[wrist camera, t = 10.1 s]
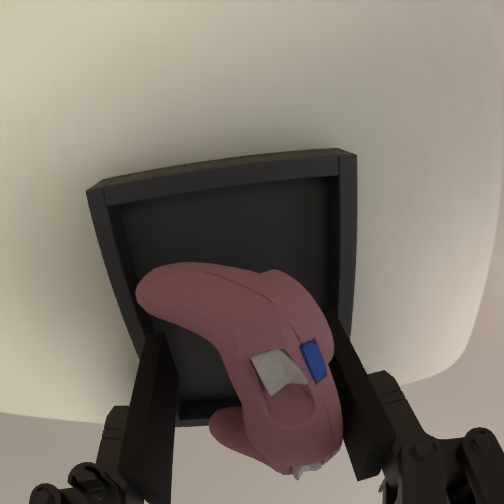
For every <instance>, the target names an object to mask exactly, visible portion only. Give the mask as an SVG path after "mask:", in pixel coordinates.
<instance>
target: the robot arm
mask: <svg viewBox="0 0 504 504" xmlns="http://www.w3.org/2000/svg"><path fill="white" fill-rule="evenodd" d="M322 312H323V314H324V316H325V318H326V320H327V323H328V325H329V327H330V330H331V333H332V337H333V342H334V355H333V357H332V359H331V361H330V362H329V363H328V366H329V369H330V371H331V374H332V377H333V380H334V383H335V386H336V389H337V393H338V397H339V401H340V406H341V412H342V419H343V440H344V443H345V446H346V449H347V451H348V454H349V457H350V460H351V463H352V466H353V469H354V472H355V475H356V478H357V481H361V480H364V479H367V478H371V477H374V476H377V475H379V473H380V471H381V469H382V471H383V473H384V475H385V479H384V480H383V482H382V484H381V485H380V488H379V491H378V492H382V490H383V502H382V503H383V504H504V452H503V451H502V448H501V447H500V445H499V443H498V441H497V439H496V437H495V435H494V434H493V433H492V432H491V431H490V430H488V429H486V428H481V427H478V428H473V429H472V430H470V431H469V432H467V434H466V435H465V437H462V438H454V439H436V438H434V437H433V436H430V435H428V434H426V433H425V432H424V430H423V429H422V427H421V425H420V424H419V421H418V420H417V418H416V416H415V415H414V412H413V410H412V408H411V407H410V405H409V403H408V401H407V400H406V399H405V396H404V394H403V392H402V391H401V390H400V387H399V385H398V383H397V382H396V380H395V378H394V377H393V376H391V375H390V374H389V373H387V372H386V371H385V370H382V371H379V372H375V373H371V374H367V373H366V371H365V369H364V367H363V365H362V363H361V361H360V359H359V357H358V355H357V353H356V351H355V350H354V348H353V346H352V344H351V342H350V340H349V338H348V336H347V334H346V332H345V330H344V328H343V326H342V324H341V323H340V321H339V319H338V317H337V315H336V313H335V311H334V309H328V310H322ZM178 386H179V374H178V371H177V368H176V365H175V362H174V360H173V357H172V354H171V351H170V348H169V345H168V342H167V339H166V336H165V333H164V332H153V333H147V335H146V339H145V343H144V347H143V351H142V355H141V359H140V363H139V367H138V371H137V375H136V379H135V384H134V388H133V392H132V397H131V401H130V406H114V407H113V409H112V410H111V411H110V413H109V414H108V415H107V418H106V422H105V426H104V430H103V434H102V439H101V442H100V447H99V451H98V456H97V460H96V464H95V463H92V462H84V463H81V464H78V465H76V466H75V467H74V468H73V469H72V470H71V472H70V473H69V475H68V483H69V484H70V485H71V486H72V487H73V488H66V489H57V488H56V487H55V486H54V485H51V484H48V483H46V484H45V483H44V484H40V485H38V486H36V487H35V488H34V489H33V491H32V493H31V496H30V501H29V504H144V499H145V500H146V501H147V502H148V503H149V504H171V482H172V463H173V448H174V432H175V420H176V408H177V397H178Z"/></svg>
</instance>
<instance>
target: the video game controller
mask: <svg viewBox="0 0 504 504" xmlns="http://www.w3.org/2000/svg"><path fill="white" fill-rule="evenodd" d="M135 294H136V298H137V302H138V304H139V305H140V306H141V307H142V308H143V309H144V310H145V311H146V312H147V313H149V314H151V315H153V316H155V317H158V318H160V319H163V320H165V321H168V322H171V323H174V324H177V325H179V326H181V327H183V328H186V329H188V330H190V331H192V332H194V333H196V334H198V335H200V336H202V337H203V338H205V339H207V340H208V341H210V342H211V343H212V344H213V345H214V346H215V348H216V349H217V350H218V351H219V353H220V355H221V357H222V360H223V362H224V365H225V367H226V370H227V372H228V375H229V377H230V380H231V382H232V385H233V387H234V389H235V391H236V393H237V395H238V397H239V399H240V401H241V403H242V407H228V408H223V409H220V410H217V411H216V412H215V413H214V414H213V415H212V416H211V418H210V420H209V429H210V432H211V434H212V435H213V436H214V437H215V438H216V440H217V441H218V442H219V443H221V444H223V445H224V446H226V447H228V448H230V449H232V450H234V451H236V452H239V453H241V454H244V455H247V456H249V457H252V458H254V459H256V460H258V461H261V462H263V463H264V464H266V465H268V466H270V467H271V468H272V469H274V470H275V471H276V472H279V473H281V474H283V475H290V474H293V475H294V477H295V479H296V480H299V478H300V476H301V474H302V473H303V472H304V471H308V470H310V471H311V470H312V471H315V470H318V469H320V468H321V467H322V465H324V464H325V463H326V462H328V461H329V460H330V459H331V458H332V457H333V456H334V455H335V454H337V452H338V451H339V450H340V447H341V445H342V440H343V419H342V412H341V406H340V401H339V397H338V393H337V389H336V386H335V383H334V380H333V377H332V374H331V371H330V369H329V366H328V363H329V362H330V361H331V359H332V357H333V355H334V342H333V337H332V333H331V330H330V327H329V325H328V323H327V320H326V318H325V316H324V314H323V312H322V311H321V309H320V308H319V306H318V305H317V303H316V302H315V300H314V299H313V297H312V296H311V295H310V294H309V292H308V291H307V290H306V289H305V288H304V287H303V286H302V285H301V284H300V283H299V282H298V281H296V280H295V279H294V278H292V277H291V276H289V275H288V274H286V273H284V272H282V271H279V270H274V269H273V270H270V271H266V272H263V273H260V274H259V273H256V272H253V271H250V270H245V269H240V268H235V267H230V266H224V265H218V264H211V263H198V262H180V263H174V264H169V265H164V266H160V267H158V268H155V269H153V270H152V271H151V272H149V273H148V274H147V275H145V276H144V277H143V279H142V280H141V281H140V282H139V284H138V286H137V289H136V293H135Z"/></svg>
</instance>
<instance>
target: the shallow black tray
mask: <svg viewBox="0 0 504 504" xmlns="http://www.w3.org/2000/svg"><path fill="white" fill-rule="evenodd" d="M86 196H87V200H88V204H89V208H90V212H91V216H92V220H93V224H94V228H95V232H96V235H97V239H98V242H99V246H100V249H101V253H102V256H103V260H104V263H105V266H106V269H107V272H108V276H109V279H110V282H111V285H112V288H113V291H114V294H115V297H116V299H117V302H118V305H119V308H120V311H121V314H122V316H123V319H124V322H125V324H126V327H127V330H128V332H129V335H130V337H131V340H132V342H133V345H134V347H135V350H136V352H137V355H138V357H139V359H141V355H142V351H143V347H144V343H145V339H146V335H147V333H153V332H164V333H165V336H166V339H167V342H168V345H169V348H170V351H171V354H172V357H173V360H174V362H175V365H176V368H177V371H178V374H179V386H178V397H177V408H176V420H175V427H183V426H184V427H192V426H207V425H209V420H210V418H211V416H212V415H213V414H214V413H215V412H216V411H217V410H220V409H223V408H228V407H242V403H241V401H240V399H239V397H238V395H237V393H236V391H235V389H234V387H233V385H232V382H231V380H230V377H229V375H228V372H227V370H226V367H225V365H224V362H223V360H222V357H221V355H220V353H219V351H218V350H217V349H216V348H215V346H214V345H213V344H212V343H211V342H210V341H208V340H207V339H205V338H203V337H202V336H200V335H198V334H196V333H194V332H192V331H190V330H188V329H186V328H183V327H181V326H179V325H177V324H174V323H171V322H168V321H165V320H163V319H160V318H158V317H155V316H153V315H151V314H149V313H147V312H146V311H145V310H144V309H143V308H142V307H141V306H140V305H139V304H138V302H137V298H136V294H135V293H136V289H137V286H138V284H139V282H140V281H141V280H142V279H143V277H144V276H145V275H147V274H148V273H149V272H151V271H152V270H153V269H155V268H158V267H160V266H164V265H169V264H174V263H180V262H198V263H211V264H218V265H224V266H230V267H235V268H240V269H245V270H250V271H253V272H256V273H259V274H260V273H263V272H266V271H270V270H273V269H274V270H279V271H282V272H284V273H286V274H288V275H289V276H291V277H292V278H294V279H295V280H296V281H298V282H299V283H300V284H301V285H302V286H303V287H304V288H305V289H306V290H307V291H308V292H309V294H310V295H311V296H312V297H313V299H314V300H315V302H316V303H317V305H318V306H319V308H320V309H321V311H322V310H328V309H334V311H335V313H336V315H337V317H338V319H339V321H340V323H341V324H342V326H343V328H344V330H345V332H346V334H347V336H348V338H349V340H350V334H351V323H352V312H353V299H354V285H355V268H356V245H357V155H356V154H353V153H350V152H347V151H345V150H342V149H339V148H331V149H315V150H301V151H289V152H278V153H268V154H258V155H249V156H240V157H232V158H224V159H217V160H209V161H202V162H196V163H189V164H183V165H177V166H171V167H165V168H159V169H153V170H148V171H142V172H137V173H132V174H127V175H122V176H117V177H112V178H108V179H103V180H101V181H100V182H98V183H97V184H96V185H94V186H93V187H91V188H90V189H88V190H87V191H86Z"/></svg>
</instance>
